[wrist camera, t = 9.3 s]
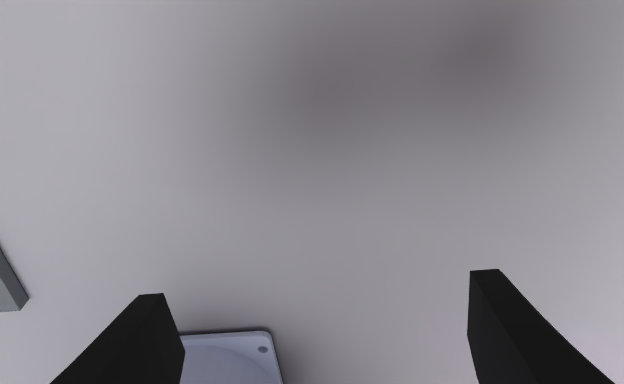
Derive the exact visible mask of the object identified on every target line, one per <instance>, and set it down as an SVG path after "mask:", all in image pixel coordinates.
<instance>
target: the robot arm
mask: <svg viewBox="0 0 624 384" xmlns="http://www.w3.org/2000/svg"><path fill="white" fill-rule="evenodd" d="M467 336H468V341H469V345H470V350H471V354H472V358H473V362H474V367H475V371H476V375H477V379H478V381H479V384H615V383H614V382H612V381H611V380H610V379H609V378H608V377H607V376H605V375H604V374H603V373H602V372H601V371H600V370H599V369H598V368H596V367H595V366H594V365H593V364H592V363H591V362H590V361H589V360H587V359H586V358H585V357H584V356H583V355H582V354H581V353H580V352H579V351H578V350H577V349H576V348H574V347H573V346H572V345H571V344H570V343H569V342H568V341H567V340H566V339H565V338H564V337H563V336H562V335H561V334H560V333H559V332H558V331H557V330H556V329H555V328H554V327H553V326H552V325H551V324H550V323H549V322H548V321H547V320H546V319H545V318H544V317H543V316H542V315H541V314H540V313H539V312H538V311H537V310H536V309H535V308H534V307H533V306H532V304H531V303H530V302H529V301H528V300H527V299H526V298H525V297H524V296H523V295H522V294H521V293H520V292H519V290H518V289H517V288H516V287H515V286H514V285H513V284H512V283H511V282H510V280H509V279H508V278H507V277H506V276H505V275H504V274H503V273H502V272H501V271H500V270H499V269H489V270H475V271H470V285H469V307H468V329H467ZM261 346H265V347H261ZM50 384H283V382H282V378H281V374H280V370H279V366H278V362H277V358H276V353H275V349H274V345H273V341H272V337H271V335H270V334H269V333H268V332H265V331H249V332H233V333H217V334H201V335H185V336H179V333H178V330H177V328H176V325H175V322H174V320H173V317H172V315H171V312H170V309H169V307H168V304H167V302H166V299H165V296H164V294H163V293H158V294H144V295H139V296H138V297H136V298H135V299H134V300H133V301H132V302H131V303H130V304H129V305H128V306H127V307H126V308H125V309H124V310H123V311H122V312H121V313H120V314H119V315H118V316H117V317H116V319H115V320H114V321H113V322H112V323H111V324H110V325H109V326H108V327H107V328H106V329H105V330H104V331H103V332H102V333H101V334H100V335H99V336H98V337H97V338H96V339H95V340H94V341H93V342H92V343H91V344H90V345H89V346H88V347H87V348H86V349H85V350H84V351H83V352H82V353H81V354H80V355H79V356H78V357H77V358H76V359H75V360H74V361H73V362H72V363H71V364H70V365H69V366H68V367H67V368H66V369H65V370H64V371H63V372H62V373H61V374H60V375H58V376H57V377H56V378H55V379H54V380H53V381H52V382H51V383H50Z"/></svg>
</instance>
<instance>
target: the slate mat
mask: <svg viewBox="0 0 624 384" xmlns="http://www.w3.org/2000/svg"><path fill="white" fill-rule="evenodd" d="M28 300H29V299H28V297H27V295H26V294H25V292H24V290H23V288H22V287H21V285H20V283H19V281H18V280H17V278H16V276H15V274H14V273H13V271H12V269H11V267H10V266H9V264H8V262H7V260H6V259H5V257H4V255H3V253H2V252H1V250H0V312H9V311H20V310H21V309H22V308H23V306H24V305H25V304H26V302H27V301H28Z"/></svg>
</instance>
